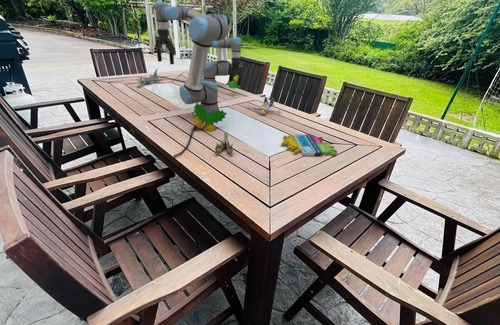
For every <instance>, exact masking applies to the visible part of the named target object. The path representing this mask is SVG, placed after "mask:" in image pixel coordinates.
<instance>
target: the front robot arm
mask: <svg viewBox="0 0 500 325" xmlns="http://www.w3.org/2000/svg"><path fill="white" fill-rule="evenodd" d="M154 13H155V22H156V29H157V30H156V31H157V32H156V33H157V34H156V36H155V44H154V51H156V56H157V62H162V61H163V59H162V58H163V56H162V50H161V49H162V47H163V46H165V47H166V48H167V50H168V52H169V65H175V60H174V59H175V54H176V53H177V52H176V49H175V46H174V43H173V39H172V37H169V36H170V30H169V29H170V26H169V21H185V22H188V23H189V25H188V32H189V33H188V35H189V37H190V39H191V42H192V44H193V46H192V51H191V52H192V53H191V56H190V57H191V58H190V64H189V68H188V69H189V70H188V74H187V79H186V80H184V81H185V82H183V83H184V85H182V86H180V87H179V89H178V90H179V91H178V92H179V97H180V99H181V101H182V102H183V103H184V104H185V105H193V104H196V102H197V103H198V104H201V106H204V109H206V112H208V113H211V112H212V110H214V111H216V110H217V109H219V111H221V110H220V108H219V102H218V99H219V98H218V97H219V94H218V93H219V88H218V84H216V83H217V82H216V83H214V82H211V81H203V73H204V68H205V64H206V62H207V59H208V54H209V49H211V48H212V44H213V41H219V40H222V39H224V38H225V39H226V38H227V36H228V34H229V24H228V25H227V23H226V21H225V20H223V19H221V18H218V17H210V16H207V14H204V13H202V12H199V11H197V10H196V9H195V8H192V7H184V6H174V5H168V4H167V2H164V1H155V2H154ZM208 113H207V115H208ZM196 127H197V126H196V125H194V126H193V128H192V130H191V132H190V134H189V139H188V142H187V144H186V146H185V147H184V149H183V150H181V151H180V152H179V153H176V154H174V155H173V156H172V158H171V161H174V159H175V158H176V157H177V156H180V155H182V154H183V153H184V152H185V151H186V150H187V148H188V147H189V145H190V143H191V140H192V136H193V132H194V131H195V129H196Z"/></svg>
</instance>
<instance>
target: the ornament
mask: <svg viewBox="0 0 500 325" xmlns="http://www.w3.org/2000/svg"><path fill="white" fill-rule="evenodd" d="M219 110H220V108H219V109H217V110H216V111H214V110H212V112H211V113H208V112H206V109H204V106H201V103H197V102H196V103H195V105H194V106H193V112H194V113H195V118H192V119H191V122H192V123H193V125H194V126H196V127H197V128H198V129H202V130H203V131H206V132H212V131H213V132H214V131H215V130H216V126H215V124H218V123H219V122H223V119H226V115H227V114H228V113H227V112H224V110H223V109H221V110H220V111H219ZM207 113H208V115H207ZM214 123H215V124H214Z"/></svg>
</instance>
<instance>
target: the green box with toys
mask: <svg viewBox="0 0 500 325" xmlns="http://www.w3.org/2000/svg"><path fill="white" fill-rule="evenodd" d="M238 78H239V76H238V74H236V75H235V76H234V77H233V79H232V81H230V80H229V81H227V85H228V88H230V89H233V90H235V89H237V88H240V87H241V85H240V86H238Z"/></svg>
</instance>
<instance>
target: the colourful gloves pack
mask: <svg viewBox="0 0 500 325" xmlns="http://www.w3.org/2000/svg"><path fill="white" fill-rule="evenodd" d="M280 145H281V146H282V147H286V150H287V151H289V150H290V152H293V151H294V152H293V154H294V155H298V153H300V152H301V154H302V156H304V157H322V156H328V155H331V156H333V157H334V156H336V154H337V152H338V150H337V149H335V145H329V143H328V142H327V141H324V142H323V137H322V136H319V137H317V136H316V135H311V134H305V133H302V134H301V133H295V134H293V135H289V134H288V135H283V141H282V142H281V144H280Z"/></svg>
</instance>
